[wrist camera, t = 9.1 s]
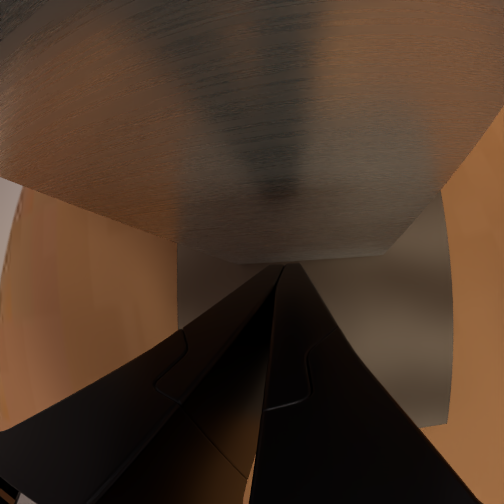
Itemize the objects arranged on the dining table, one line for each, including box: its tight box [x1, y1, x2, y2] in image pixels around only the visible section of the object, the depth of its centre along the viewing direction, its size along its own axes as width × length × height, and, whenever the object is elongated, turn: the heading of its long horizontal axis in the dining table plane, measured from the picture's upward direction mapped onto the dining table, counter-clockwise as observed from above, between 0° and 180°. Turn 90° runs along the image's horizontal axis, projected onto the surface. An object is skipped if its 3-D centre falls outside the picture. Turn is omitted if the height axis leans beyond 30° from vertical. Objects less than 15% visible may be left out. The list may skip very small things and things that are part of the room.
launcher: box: [177, 191, 453, 428], centre depth 13 cm, size 28×14×10 cm, turn 1°
